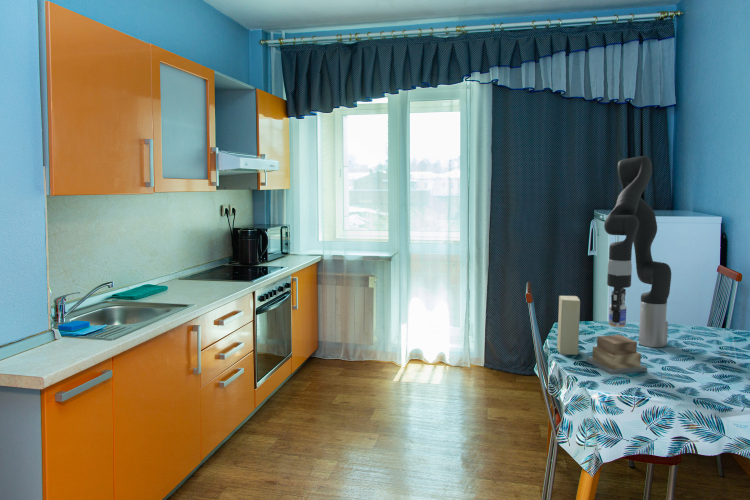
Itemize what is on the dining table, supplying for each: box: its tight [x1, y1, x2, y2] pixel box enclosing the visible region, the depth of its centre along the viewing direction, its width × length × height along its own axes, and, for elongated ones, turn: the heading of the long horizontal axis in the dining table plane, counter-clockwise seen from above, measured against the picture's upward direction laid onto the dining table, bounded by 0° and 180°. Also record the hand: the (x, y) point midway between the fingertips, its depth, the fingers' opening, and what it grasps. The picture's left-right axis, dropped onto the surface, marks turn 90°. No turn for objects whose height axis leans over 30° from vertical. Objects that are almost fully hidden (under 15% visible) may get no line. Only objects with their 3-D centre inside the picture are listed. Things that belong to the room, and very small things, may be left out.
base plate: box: [585, 357, 648, 375], centre depth 187 cm, size 14×14×1 cm
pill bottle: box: [608, 299, 627, 329], centre depth 185 cm, size 5×5×10 cm
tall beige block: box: [556, 295, 581, 356], centre depth 203 cm, size 8×7×21 cm
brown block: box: [591, 334, 642, 369], centre depth 186 cm, size 11×11×8 cm
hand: (617, 320), depth 185 cm, fingers closed on pill bottle, 5 cm apart
